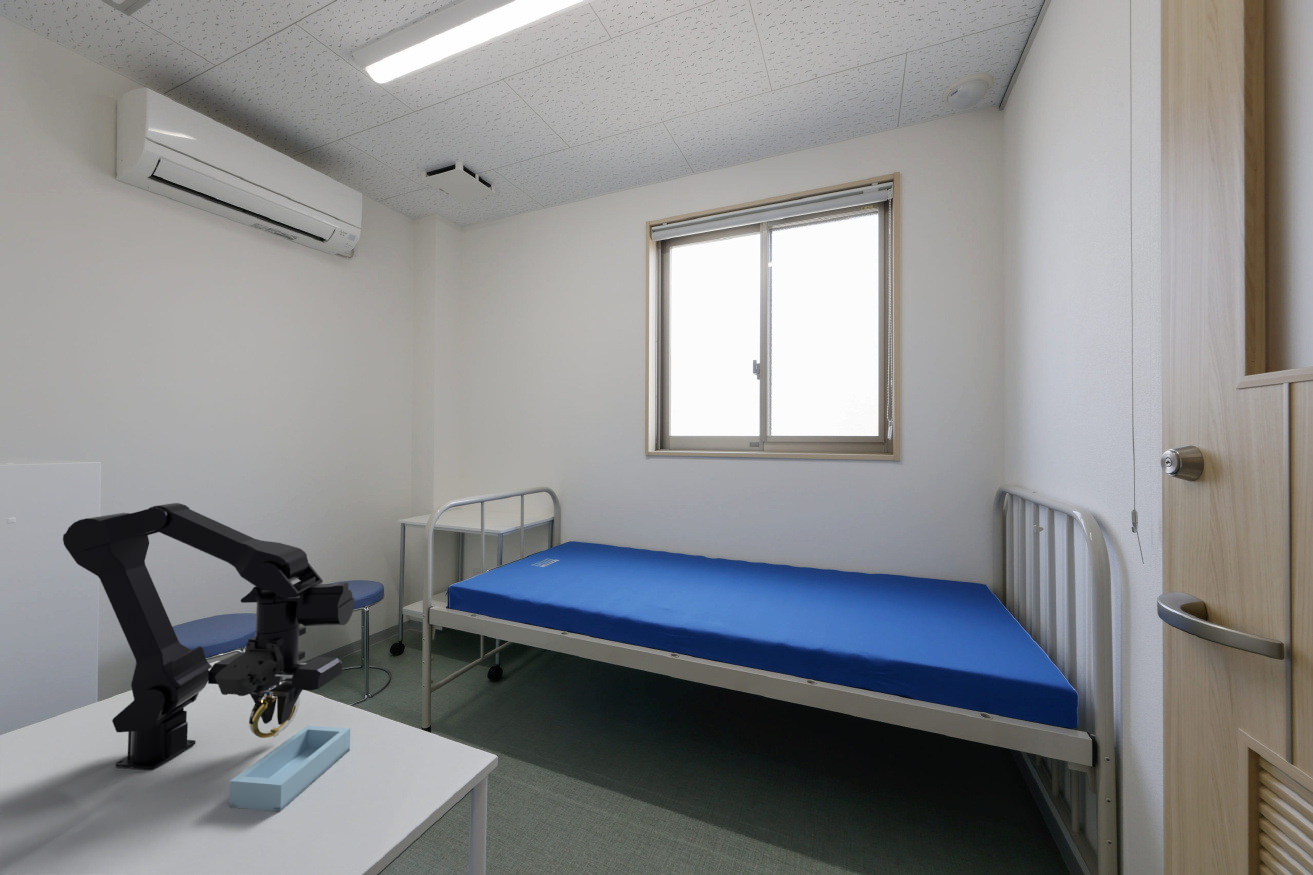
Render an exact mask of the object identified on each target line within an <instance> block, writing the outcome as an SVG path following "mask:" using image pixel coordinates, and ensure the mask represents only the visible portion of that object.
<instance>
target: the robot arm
mask: <svg viewBox="0 0 1313 875" xmlns="http://www.w3.org/2000/svg"><path fill="white" fill-rule="evenodd" d="M158 533H160V534H163V535H164V536H167V537H169V538H171V539H173V540H176V541H178V542H180V543H182V544H186V546H190V547H192V548H194V549H197V550H198V551H200V552H203V553H205V554H208V555H210V556H211V557H214V558H217V559H219V560H221V561H224V562H225V563H228V564H229V565H230V566H232V567H233V568H234V569H235V570H236V572H237V573H238V575H239V576H240V577H241V578H242V579H243V580H245V581H246V582H248V583H250V584H251V585H252V586H254V587H253V588H252V589H251V590H250V591H249V592H248V594H246V595H245V596H243V597H242V598H241V599H240V603H241V604H243V603H245V604H246V603H256V613H255V616H256V617H255V635H254V636H253V637H251V638H248V642H246V648H245V650H244V652H242V651H239V652H237V653H236V654H232V655H231V656H228V657H226V658H224V659H222V660H219V661H217V662H215V663H214V664H213V665H212V664H210V663H209V662H208V660H207V658H206V655H205V650H204V648H203V647H202V646H201V645H200V646H197V647H195V648H193V649H190V648H188V647H187V646H185V645H183V644H181V642H180V641H179V638H178V637H177V635H176V632H175V629H174V627H173V625H172V623H171V621H170V617H169V616H168V612H167V611H166V609H165V606H164V604H163V601H162V600H161V598H160V595H159V592H158V591H157V588H156V586H155V584H154V582H153V579H152V577H151V575H150V572H149V569H148V568H147V565H146V561H145V560H146V557H147V555H148V554H147V552H148V550H149V546H150V540H149V536H151V535H153V534H154V535H155V534H158ZM62 542H63V545H64V548H65V550H67V551H68V554H70V556H71V557H72V559H73V560H74V562H75V563H76V564H77V565H78V566H80V567H82V569H85V570H86V571H88V572H90V573H92V574H93V575H95V576H97V578H98V579H99V580H100V583H101V584H102V587H103V590H104V591H105V594H106V596H107V598H108V601H109V604H110V605H111V608H112V610H113V612H114V614H115V616H116V619H117V622H118V623H119V625H120V628H121V631H122V633H123V634H124V637H125V638H126V642H127V644H128V646H129V649H130V651H131V653H132V654H133V657H134V659H135V667H134V671H133V676H132V680H131V683H130V686H131V687H130V688H131V692H132V696H133V701H131V702H130V704H128V705H127V706H126V707H124V708H123V709H122V710H121V711H120V712H119V713H118V714H117V715H115V716H114V717H113V718H112V720H111V722H112V724H113V727H114V729H115V732H116V733H127V734H128V738H127V756H125V757H124V758H122V759H120V760H118V761H116V762H115V767H117V768H125V769H126V768H127V769H137V770H138V769H139V770H155V769H157V768H158V767H159V766H161V765H162V764H165V763H167V762H168V761H170V760H172V759H173V758H174V757H176V756H178V755H179V754H181V753H183V752H185V751H187V750H188V749H189V748H191V747H193V746H194V745H196V739H195V740H194V739H188V729H189V728H188V727H189V722H188V721H187V719H188V718H187V716H188V715H187V714H188V712H187V710H184V708H186V707H187V706H189V705H190V704H191V703H192V704H193V703H194V702H196V700H197V698H198V696H199V693H201V692H202V691H203V689H205V687H206V686H207V684H208V685H217V686H218V689H219V691H220V694H221V695H224V696H227V695H236V696H239V697H244V696H249V695H250V697H251V699H252V700H253V702H254V704H255V703H256V702H257V700H258V699H259V698H260V696H261V695H262V694H263V693H264V692H265V691H267V690H268V689H269V688H270V687H271V688H272V686H273V685H276V687H275V688H273V689H271V692H273V693H274V694H276V695H277V697H276V699H275V700H274V701H273V702H272V703H271V704H270V705H269V706H268V707H267V708H266V709H265V711H264V712H263V713H262V715H261V716H260V718H261V720H262V722H263V724H265V725H267V724H269V723H271V721H273V717H274V714H275V709H276V708H277V709H276V710H277V712H276V717H277V718H276V719H277V725H278V726H280V725H281V724H283V723H284V722H285V721H286V720H287V718H288V716H289V714H290V712H291V710H292V708H293V706H294V705H295V703H296V701H297V699H298V697H299V698H300V695H301V693H302V692H303V691H314V690H319V689H320V688H322V687H323V686H325V685H326V684H328V683H329V682H331V681H333V680H334V679H336V678H337V677H339V676H340V675H342V672H343V662H342V660H341V659H339V658H338V657H328V656H327V657H325V656H318V657H316V658H314V659H312V660H310V661H309V662H300V663H299V661H301V660H303V659H305V657H306V651H300V637H301V636H303V635H305V634H306V633H307V627H330V626H338V627H339V626H346V625H347V624H348V622H350V619H351V617H352V614H353V612H354V607H355V598H354V596H353V592H352V591H351V590H350V589H349V582H341V581H340V582H337V583H323V579H322V578H321V576H320V575H319V574H318V573H317V571H316V570H315V569H314V568H313V567H312V565H311V564H310V563H309V560H308V554H307V553H306V551H304V550H303V549H301V548H299V547H297V546H293V545H289V544H286V543H281V542H278V541H277V542H276V541H267V540H262V539H257V538H254V537H252V536H250V535H247V534H246V533H242V532H240V531H238V530H237V529H234V528H231V527H230V526H227V525H225V524H224V523H221V522H219V521H216V520H214V519H212V518H210V517H208V516H206V515H204V514H201V513H199V512H197V511H195V510H192V509H191V508H190V507H189V506H188V505H186V504H182V503H179V502H174V503H165V504H160V505H159V504H158V505H154V506H151V507H149V508H146V509H143V510H139V511H135V512H131V513H130V512H121V513H119V512H118V513H114V514H113V513H112V514H106V515H100V516H94V517H88V518H82V519H78V520H77V521H74V522H73V523H72V524H71V525H69V526H68V528H67V530H66V532H65V533H63V536H62ZM296 580H299V581H297V582H296V583H292V582H294V581H296ZM301 625H302V626H301ZM281 679H282V680H281ZM280 683H281V684H280ZM268 699H270V697H269V698H268ZM268 699H266V700H265V699H264V701H263V702H262V704H261V706H262V705H263V704H264V703H265V702H266V701H267V700H268ZM276 705H277V706H276ZM261 706H260V707H261Z"/></svg>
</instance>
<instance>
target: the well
mask: <svg viewBox="0 0 1313 875" xmlns="http://www.w3.org/2000/svg"><path fill="white" fill-rule="evenodd" d="M350 750H351V728H349V727H335V726H333V727H332V726H321V725H319V726H318V725H305V726H304V727H303V728H301V729H299V731H298V732H296V733H294V734H293V735H292V736H291V737H289V738H288V739H286V740H284V742H282V743H280V745H279V746H277V747H275V748H273V750H271V751H269V752H267V754H265V755H264V756H263V757H261V758H260V759H258V760H257V761H256V762H254V763H253V764H252V765H250V766H249V767H247V768H246V769H245V770H242V772H241V773H239V774H238V775H237V776H234V777H233V778H232V779H231V780H230V781H229V797H228V798H229V802H228V804H229V805H228V807H229V808H239V809H250V810H263V811H271V812H273V811H276V812H281V811H283V810H284V809H285V808H286V807H287V806H288V805H289V804H290V803H291V802H293V801H294V800H295V799H296V798H297V797H299V796H300V795H301V794H302V793H303V792H304V791H306V789H307V788H309V787H310V786H311V785H312V784H313V783H315V781H317V780H318V779H319V778H320V777H322V775H323V774H325V773H326V772H327V771H328V770H329V769H330V768H332V767H333V766H334V764H336V763H337V762H338V761H339V760H340V759H342V758H343V757H344V756H345V755H346V754H347V753H349V752H350Z"/></svg>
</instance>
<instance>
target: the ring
mask: <svg viewBox="0 0 1313 875" xmlns="http://www.w3.org/2000/svg"><path fill="white" fill-rule="evenodd" d="M275 687H276V685H273V686H272V688H271V687H270V688H269V689H268V690H267V691H265V692H264V693H263V694H262V695H261V696H260V698H259V699H258V700H257V702H256V703H255V702H254V705H253V708H252V710H251V712H250V715H249V720H248V721H249V722H248V726H249V730H250V731H251V733H252V734H253V735H255V736H256V737H258V738H261V739H265V738H267V739H268V738H273V737H274V738H275V737H277V736H279V735H280V733H282V732H283V731H284V730H285V729H286V728H288V727H289V726H290V724H292V722H293V721H294V719H296V718H295V717H296V716H297V714H298V711H299V708H300V702H301V701H300V696H299V697H298V699H297V701H296V703H295V705H294V706H293V708H292V710H291V712H290V714H289V716H288V718H287V720H286V721H285V722H284V723H283V724H281V725H278V726H277V727H273V728H271V729H270V731H265V732H263V731H261V730H260V728H259V721H260V718H261V715H262V713H263V712H264V711H265V709H266V708H267V707H268V706H269V705H270V704H271V703H272V702H273V701H274V700H275V699H276V697H277V695H276V694H274V693H273V692H271V689H273V688H275ZM269 697H270V699H268V698H269ZM264 699H265V700H266V699H268V700H267V701H266V702H265V703H264V704H263V705H262V706H261V704H262V702H263V701H264ZM260 706H261V707H260Z"/></svg>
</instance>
